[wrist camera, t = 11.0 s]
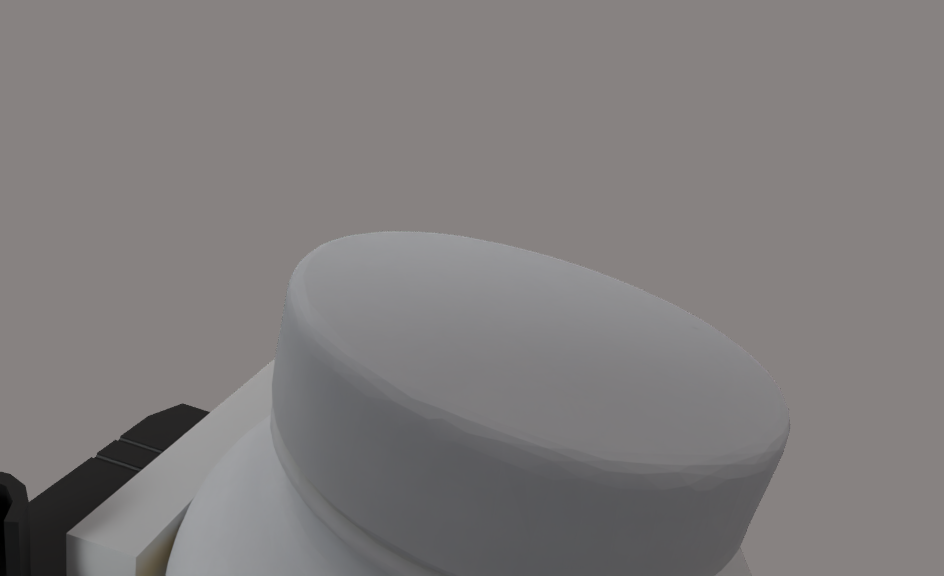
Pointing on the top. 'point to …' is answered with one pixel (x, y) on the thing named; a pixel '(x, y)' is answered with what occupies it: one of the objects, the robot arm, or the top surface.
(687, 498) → the pill bottle
